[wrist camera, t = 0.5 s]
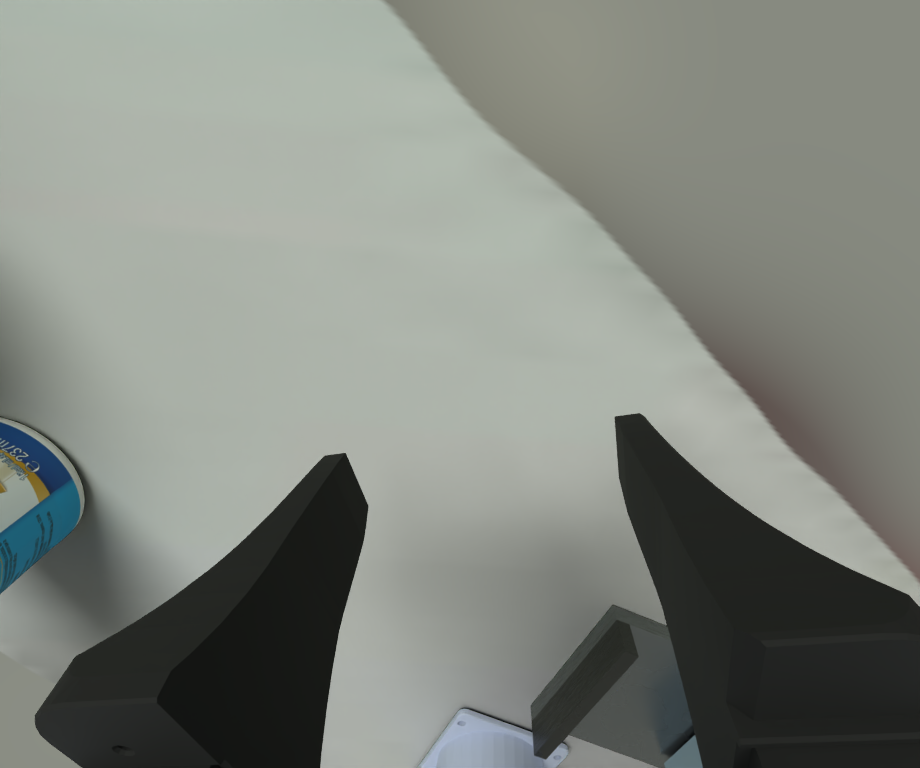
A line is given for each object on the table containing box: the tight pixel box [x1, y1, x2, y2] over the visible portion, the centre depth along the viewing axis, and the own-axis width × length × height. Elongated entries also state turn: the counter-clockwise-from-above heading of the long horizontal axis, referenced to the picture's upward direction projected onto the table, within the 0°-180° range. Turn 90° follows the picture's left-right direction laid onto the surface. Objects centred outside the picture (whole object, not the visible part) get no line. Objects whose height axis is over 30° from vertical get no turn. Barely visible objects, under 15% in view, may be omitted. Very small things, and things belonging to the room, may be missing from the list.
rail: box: [531, 605, 695, 768], centre depth 31 cm, size 10×22×3 cm, turn 66°
